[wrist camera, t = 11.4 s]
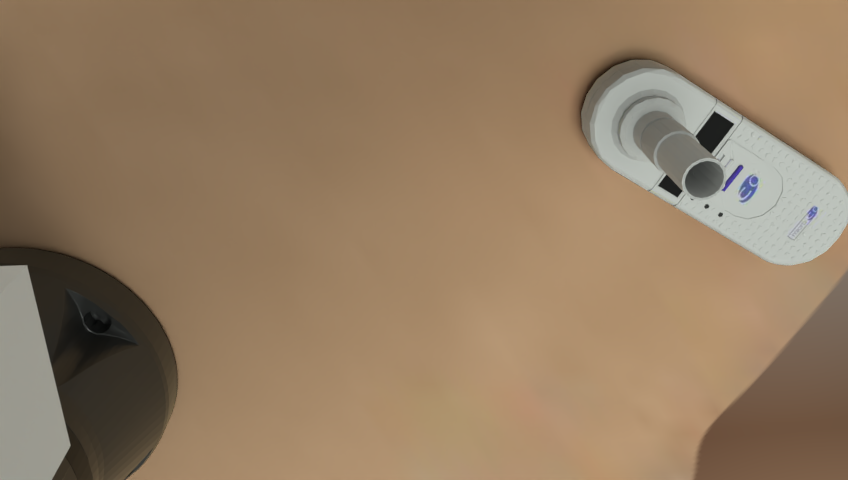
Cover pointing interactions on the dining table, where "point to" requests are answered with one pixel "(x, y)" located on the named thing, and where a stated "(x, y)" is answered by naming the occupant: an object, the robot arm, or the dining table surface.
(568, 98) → the dining table surface
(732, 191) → the electronic device
